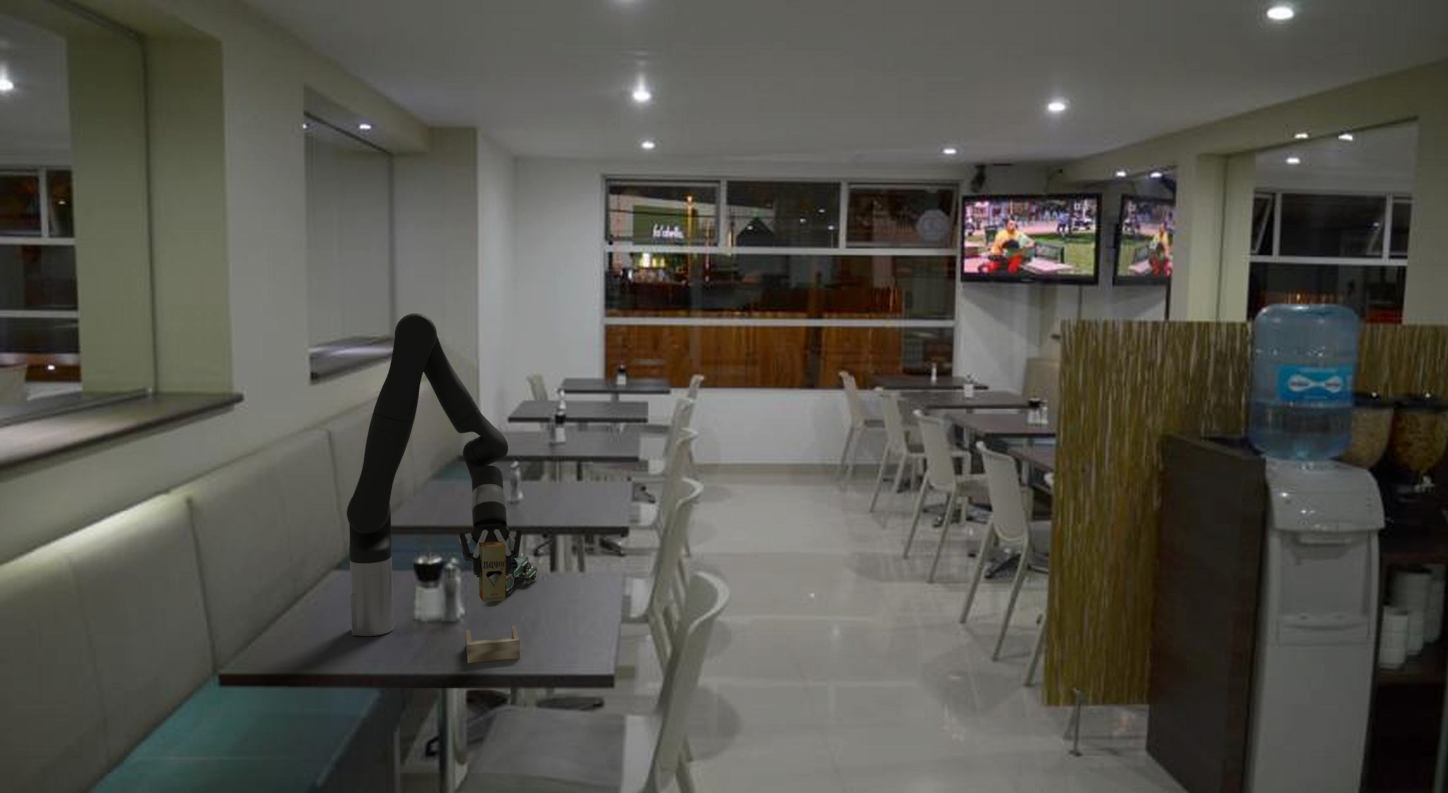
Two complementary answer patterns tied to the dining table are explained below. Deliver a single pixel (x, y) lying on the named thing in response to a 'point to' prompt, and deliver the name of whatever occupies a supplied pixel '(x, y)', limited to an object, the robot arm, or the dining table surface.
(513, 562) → the hoverbike
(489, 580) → the shoe polish box
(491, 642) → the bay
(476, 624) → the dining table surface
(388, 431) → the robot arm
